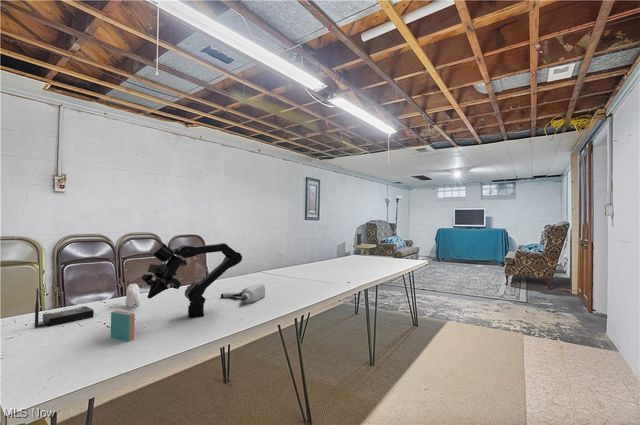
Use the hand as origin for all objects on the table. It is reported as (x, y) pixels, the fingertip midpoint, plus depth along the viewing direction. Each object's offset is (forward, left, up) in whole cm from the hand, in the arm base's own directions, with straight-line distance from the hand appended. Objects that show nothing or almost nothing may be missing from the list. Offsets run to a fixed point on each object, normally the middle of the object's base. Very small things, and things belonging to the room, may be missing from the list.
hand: (148, 298), depth 128 cm
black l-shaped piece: (+37, -26, -14) cm, 47 cm away
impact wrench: (-42, -34, -14) cm, 55 cm away
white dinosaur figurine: (+11, -40, -13) cm, 44 cm away
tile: (+8, +8, -13) cm, 17 cm away
